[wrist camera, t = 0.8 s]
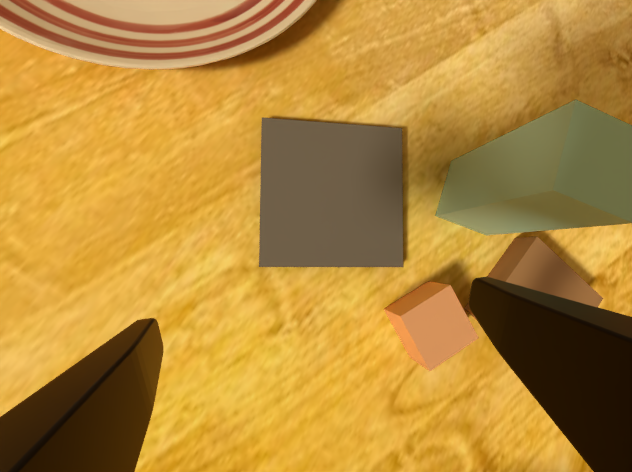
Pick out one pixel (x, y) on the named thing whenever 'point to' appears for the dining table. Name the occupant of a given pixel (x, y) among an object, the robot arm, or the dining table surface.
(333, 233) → the coaster
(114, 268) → the dining table surface
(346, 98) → the dining table surface
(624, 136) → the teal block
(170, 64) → the dinner plate
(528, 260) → the walnut tile
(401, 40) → the dining table surface
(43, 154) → the dining table surface
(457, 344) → the terracotta block
